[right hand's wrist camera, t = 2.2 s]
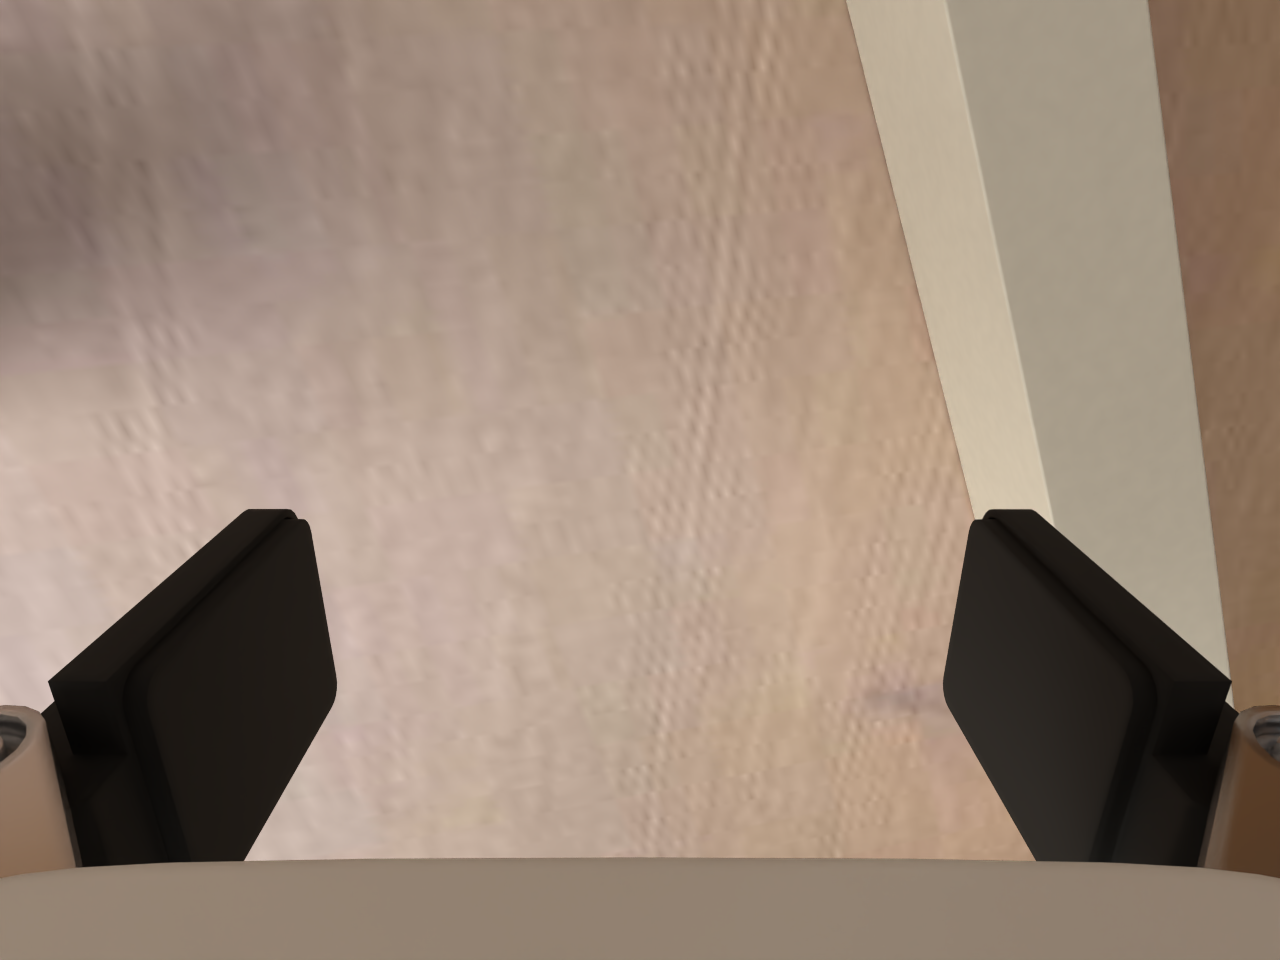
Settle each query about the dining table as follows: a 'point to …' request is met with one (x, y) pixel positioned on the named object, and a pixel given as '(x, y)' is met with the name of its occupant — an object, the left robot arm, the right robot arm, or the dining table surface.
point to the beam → (1053, 276)
